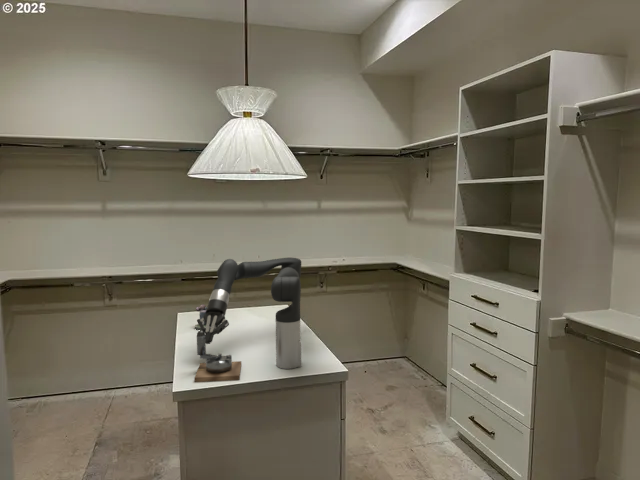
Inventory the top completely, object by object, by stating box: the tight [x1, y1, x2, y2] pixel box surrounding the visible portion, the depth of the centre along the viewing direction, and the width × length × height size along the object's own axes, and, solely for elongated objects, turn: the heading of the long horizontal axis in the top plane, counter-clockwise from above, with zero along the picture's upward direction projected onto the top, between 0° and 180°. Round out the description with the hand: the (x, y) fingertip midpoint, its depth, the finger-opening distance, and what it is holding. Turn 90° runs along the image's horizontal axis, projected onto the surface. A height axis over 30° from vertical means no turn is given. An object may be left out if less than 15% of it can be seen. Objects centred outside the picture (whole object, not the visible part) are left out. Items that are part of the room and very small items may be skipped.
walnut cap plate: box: [194, 360, 242, 383], centre depth 160 cm, size 15×14×2 cm
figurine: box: [194, 303, 207, 331], centre depth 217 cm, size 8×8×12 cm
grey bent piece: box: [196, 330, 233, 373], centre depth 160 cm, size 14×9×13 cm, turn 67°
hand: (207, 342), depth 168 cm, fingers closed
